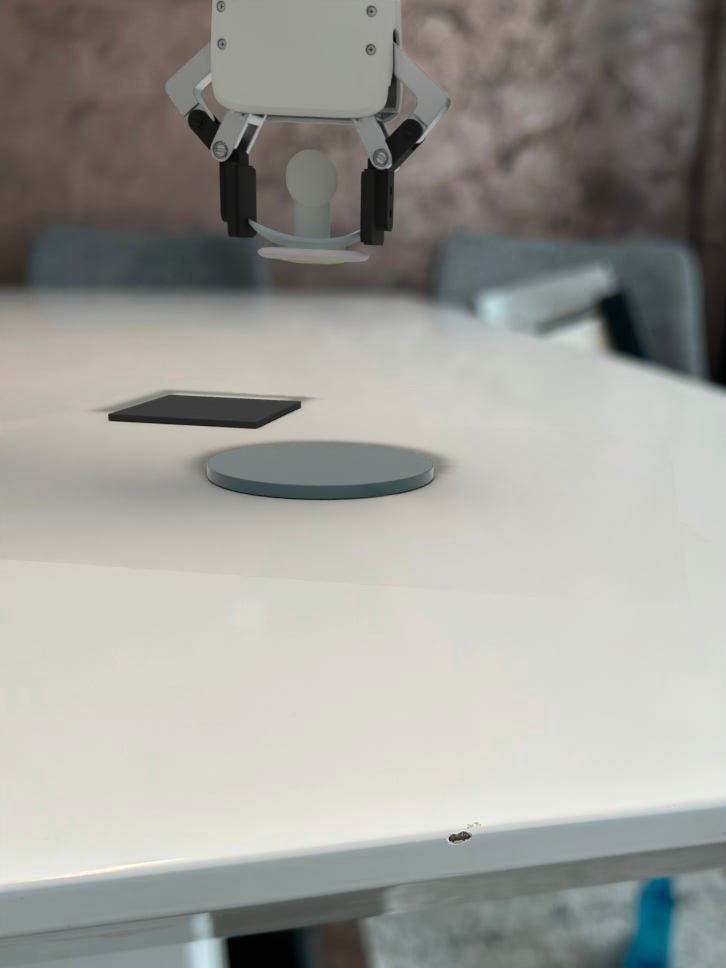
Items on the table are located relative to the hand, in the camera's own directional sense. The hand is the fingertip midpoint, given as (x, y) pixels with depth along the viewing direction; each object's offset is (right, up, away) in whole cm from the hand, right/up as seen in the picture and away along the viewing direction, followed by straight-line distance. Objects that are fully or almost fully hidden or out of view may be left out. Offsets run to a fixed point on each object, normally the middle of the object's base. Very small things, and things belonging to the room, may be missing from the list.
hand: (306, 238), depth 65 cm
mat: (-12, -5, +27) cm, 30 cm away
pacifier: (0, -2, 0) cm, 2 cm away
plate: (0, -13, +5) cm, 14 cm away
